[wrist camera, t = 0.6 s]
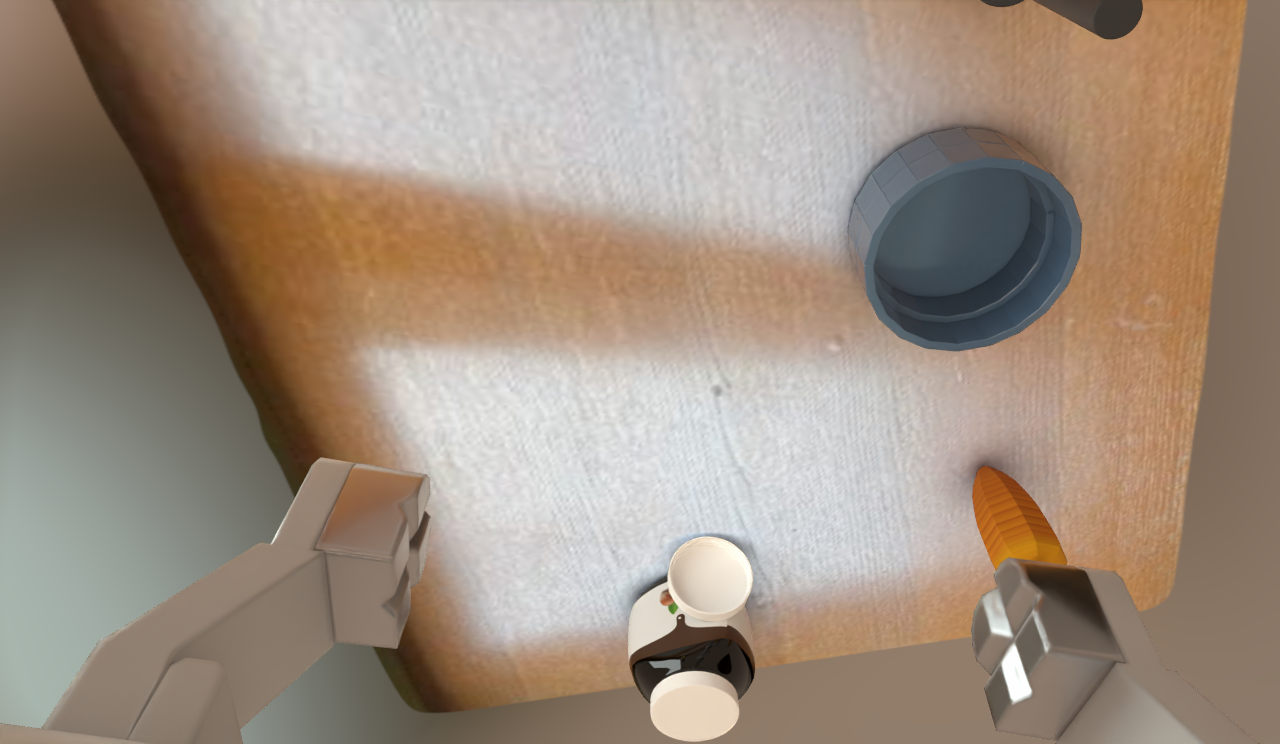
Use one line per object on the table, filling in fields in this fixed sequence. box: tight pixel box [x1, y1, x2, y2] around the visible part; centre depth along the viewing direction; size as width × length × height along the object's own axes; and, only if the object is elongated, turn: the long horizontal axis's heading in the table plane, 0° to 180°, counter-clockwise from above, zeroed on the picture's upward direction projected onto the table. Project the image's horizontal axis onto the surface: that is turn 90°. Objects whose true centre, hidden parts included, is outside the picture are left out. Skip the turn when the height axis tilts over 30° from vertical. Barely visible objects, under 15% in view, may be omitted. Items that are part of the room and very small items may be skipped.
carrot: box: [972, 466, 1067, 570], centre depth 65 cm, size 5×5×15 cm
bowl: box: [848, 128, 1082, 351], centre depth 57 cm, size 13×13×6 cm
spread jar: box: [628, 537, 755, 741], centre depth 73 cm, size 12×11×12 cm
